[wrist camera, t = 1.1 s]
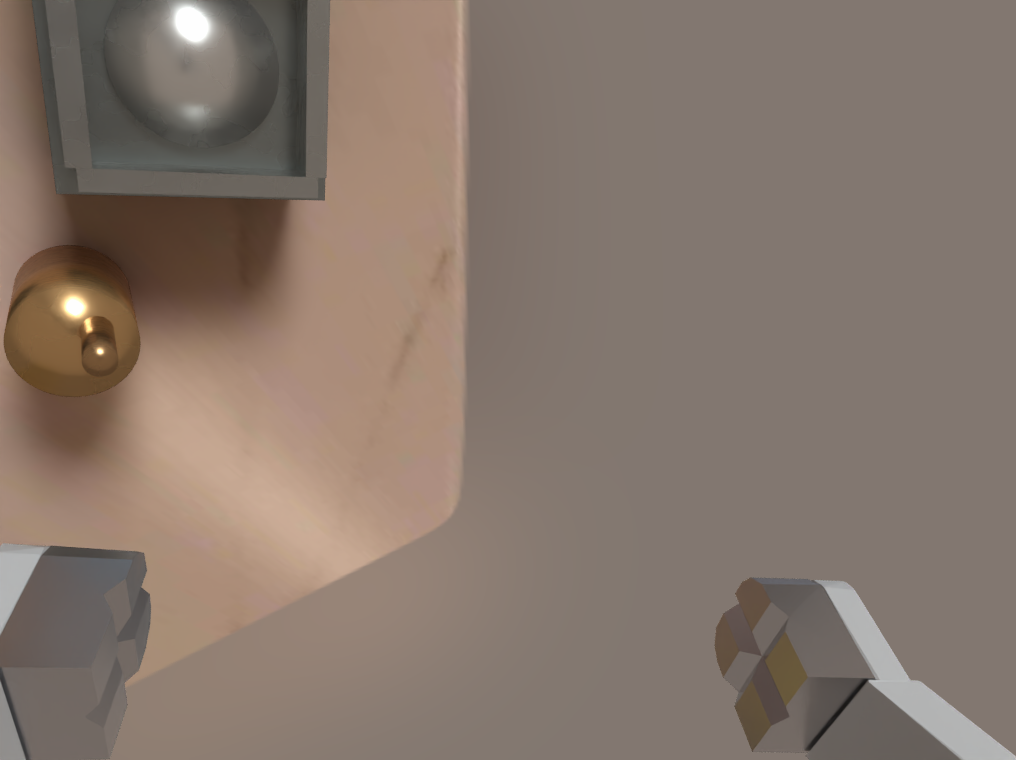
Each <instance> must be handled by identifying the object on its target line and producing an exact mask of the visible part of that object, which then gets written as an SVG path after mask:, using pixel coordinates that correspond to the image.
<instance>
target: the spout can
mask: <svg viewBox="0 0 1016 760" xmlns="http://www.w3.org/2000/svg"><path fill="white" fill-rule="evenodd" d="M4 349H5V353H6V356H7V359H8V361H9V363H10V365H11V366H12V368H13V369H14V370H15V372H16V373H17V374H18V375H19V376H20V377H21V378H22V379H23V380H25V381H26V382H27V383H29V384H30V385H32V386H33V387H35V388H37V389H39V390H42V391H44V392H47V393H50V394H54V395H58V396H66V397H81V396H89V395H94V394H97V393H101V392H103V391H105V390H108V389H110V388H112V387H113V386H115V385H117V384H118V383H119V382H121V381H122V380H123V379H124V378H125V377H126V376H127V375H128V374H129V373H130V372H131V370H132V369H133V367H134V366H135V364H136V362H137V359H138V356H139V352H140V335H139V331H138V326H137V321H136V316H135V312H134V307H133V302H132V297H131V293H130V288H129V284H128V281H127V279H126V277H125V275H124V273H123V272H122V271H121V269H120V268H119V267H118V266H117V265H116V264H115V263H114V262H113V261H112V260H111V259H109V258H108V257H106V256H105V255H103V254H101V253H99V252H97V251H95V250H92V249H89V248H86V247H81V246H73V245H64V246H56V247H51V248H48V249H45V250H42V251H40V252H38V253H36V254H35V255H33V256H32V257H30V258H29V259H28V260H27V261H26V262H25V263H24V264H23V265H22V267H21V268H20V270H19V272H18V273H17V276H16V278H15V282H14V287H13V292H12V298H11V303H10V308H9V313H8V318H7V323H6V328H5V333H4Z"/></svg>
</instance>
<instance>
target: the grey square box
mask: <svg viewBox="0 0 1016 760" xmlns="http://www.w3.org/2000/svg"><path fill="white" fill-rule="evenodd" d="M32 5H33V13H34V21H35V29H36V37H37V45H38V52H39V60H40V68H41V76H42V84H43V92H44V100H45V108H46V116H47V124H48V132H49V140H50V148H51V156H52V163H53V171H54V179H55V187H56V194H86V195H126V196H167V197H207V198H247V199H288V200H325V178H326V170H327V122H328V73H329V25H330V0H32Z"/></svg>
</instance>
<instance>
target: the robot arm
mask: <svg viewBox="0 0 1016 760" xmlns="http://www.w3.org/2000/svg"><path fill="white" fill-rule="evenodd" d="M146 572H147V568H146V562H145V556H144V553H142V552H135V551H120V550H105V549H91V548H76V547H61V546H42V545H24V544H6V543H3V544H2V545H1V546H0V760H100V759H110V756H111V753H112V750H113V747H114V744H115V741H116V738H117V735H118V732H119V729H120V726H121V723H122V720H123V717H124V714H125V711H126V708H127V697H126V690H125V684H124V683H125V682H126V681H127V680H128V679H129V678H131V677H132V676H133V675H134V674H135V673H136V672H137V671H139V668H140V665H141V662H142V658H143V655H144V652H145V649H146V644H147V638H148V633H149V628H150V617H151V603H150V594H149V593H148V592H146V591H145V590H144V589H143V588H142V587H141V586H142V583H143V580H144V578H145V575H146ZM735 594H736V597H737V600H738V602H739V604H737V605H736V606H734V607H733V608H731V609H729V610H728V611H726V612H725V613H724V614H723V616H722V618H721V620H720V621H719V623H718V625H717V627H716V636H715V651H716V657H717V662H718V664H719V667H720V670H721V673H722V675H723V678H724V679H725V680H726V681H728V682H729V683H730V684H731V685H732V686H733V687H734V688H735V689H736V690H737V691H738V696H737V699H736V703H735V709H736V711H737V714H738V717H739V719H740V722H741V724H742V727H743V729H744V732H745V734H746V737H747V740H748V742H749V745H750V747H751V749H752V752H795V753H808V754H807V755H806V757H807V758H808V759H809V760H1016V756H1014V755H1013V754H1012V753H1011V752H1009V751H1008V750H1007V749H1005V748H1004V747H1003V746H1002V745H1000V744H999V743H998V742H997V741H995V740H994V739H993V738H992V737H990V736H989V735H988V734H986V733H985V732H984V731H983V730H981V729H980V728H979V727H978V726H976V725H975V724H974V723H973V722H971V721H970V720H969V719H967V718H966V717H965V716H964V715H962V714H961V713H960V712H959V711H957V710H956V709H955V708H954V707H952V706H951V705H950V704H948V703H947V702H946V701H944V700H943V699H942V698H941V697H940V696H938V695H937V694H936V693H934V692H933V691H932V690H931V689H929V688H928V687H927V686H925V685H924V684H923V683H922V682H920V681H914V680H910V679H909V677H908V676H907V674H906V673H905V671H904V669H903V668H902V666H901V664H900V663H899V661H898V660H897V658H896V656H895V655H894V653H893V651H892V650H891V648H890V647H889V645H888V643H887V642H886V640H885V638H884V637H883V635H882V634H881V632H880V631H879V629H878V627H877V626H876V624H875V622H874V621H873V619H872V617H871V616H870V614H869V613H868V611H867V609H866V608H865V606H864V604H863V603H862V601H861V600H860V598H859V596H858V595H857V593H856V591H855V590H854V589H853V588H852V587H851V586H850V585H849V584H847V583H846V582H844V581H824V580H808V579H784V578H749V579H747V580H745V581H743V582H742V583H741V585H740V587H739V588H738V590H737V592H736V593H735Z"/></svg>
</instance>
